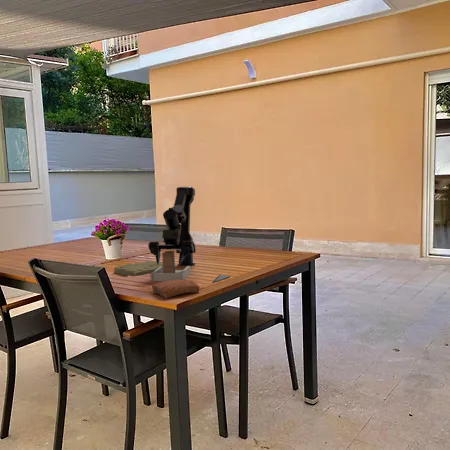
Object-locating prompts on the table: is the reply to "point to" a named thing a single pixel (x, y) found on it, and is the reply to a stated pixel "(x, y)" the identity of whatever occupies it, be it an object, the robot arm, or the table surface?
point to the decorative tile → (137, 268)
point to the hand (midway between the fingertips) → (168, 263)
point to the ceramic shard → (174, 288)
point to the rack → (169, 275)
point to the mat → (220, 278)
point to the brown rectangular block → (168, 262)
